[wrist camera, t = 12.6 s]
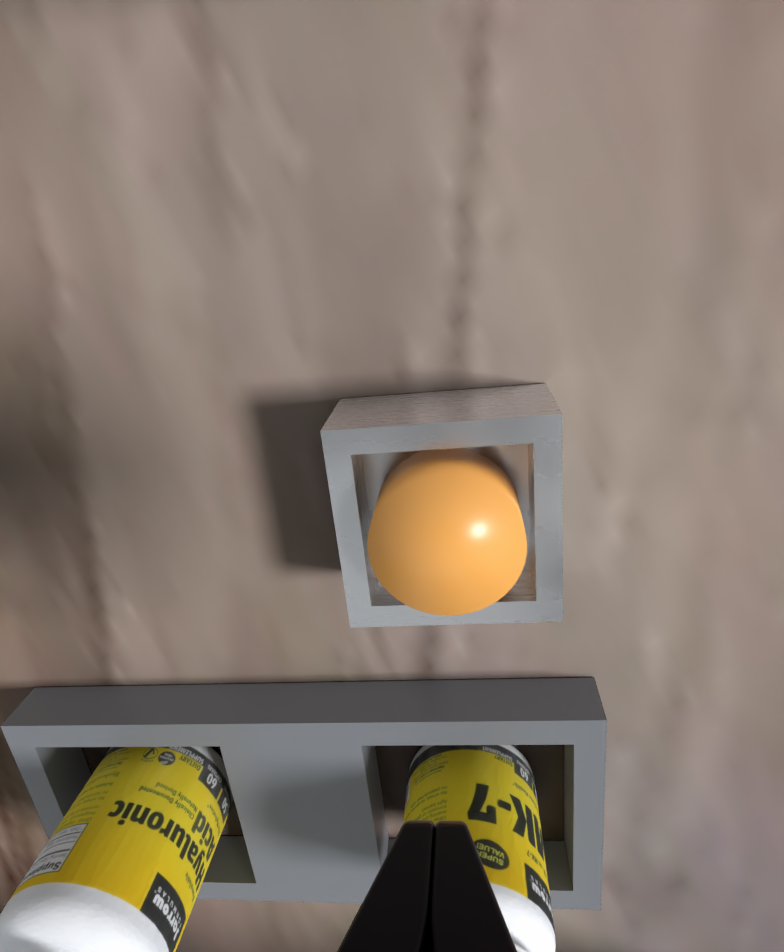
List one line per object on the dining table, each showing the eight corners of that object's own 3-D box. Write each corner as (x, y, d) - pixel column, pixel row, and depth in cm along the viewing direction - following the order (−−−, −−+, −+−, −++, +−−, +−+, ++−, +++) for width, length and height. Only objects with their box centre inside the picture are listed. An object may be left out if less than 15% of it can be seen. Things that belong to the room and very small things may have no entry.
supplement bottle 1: (265, 788, 25) (158, 1104, 16) (175, 838, 27) (34, 1150, 18) (169, 699, 24) (-5, 990, 15) (81, 758, 26) (-122, 1051, 17)
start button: (517, 441, 17) (525, 470, 15) (521, 572, 18) (528, 613, 16) (368, 451, 17) (358, 480, 15) (384, 578, 19) (376, 617, 17)
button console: (546, 383, 18) (561, 414, 15) (548, 565, 20) (562, 621, 18) (340, 399, 19) (320, 431, 16) (364, 573, 21) (350, 627, 18)
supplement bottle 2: (560, 775, 24) (610, 1048, 16) (474, 836, 25) (481, 1110, 18) (465, 704, 23) (469, 956, 15) (382, 772, 24) (348, 1030, 17)
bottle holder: (594, 677, 22) (606, 720, 20) (590, 859, 25) (601, 910, 23) (34, 687, 24) (0, 726, 23) (98, 850, 28) (73, 895, 26)
